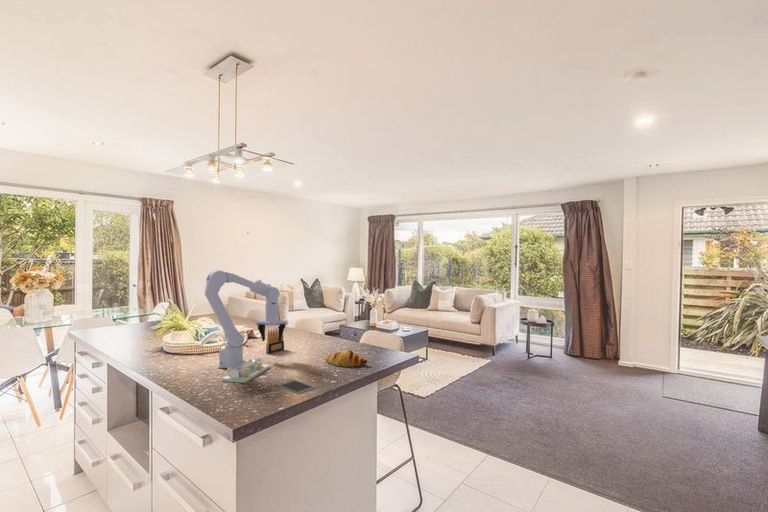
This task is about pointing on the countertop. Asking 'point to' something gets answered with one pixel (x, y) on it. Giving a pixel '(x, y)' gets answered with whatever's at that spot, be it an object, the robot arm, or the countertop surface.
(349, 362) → the croissant
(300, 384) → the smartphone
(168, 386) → the countertop surface
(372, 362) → the countertop surface
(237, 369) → the grey bar
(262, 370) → the rack
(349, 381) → the countertop surface
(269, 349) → the ammunition clip
